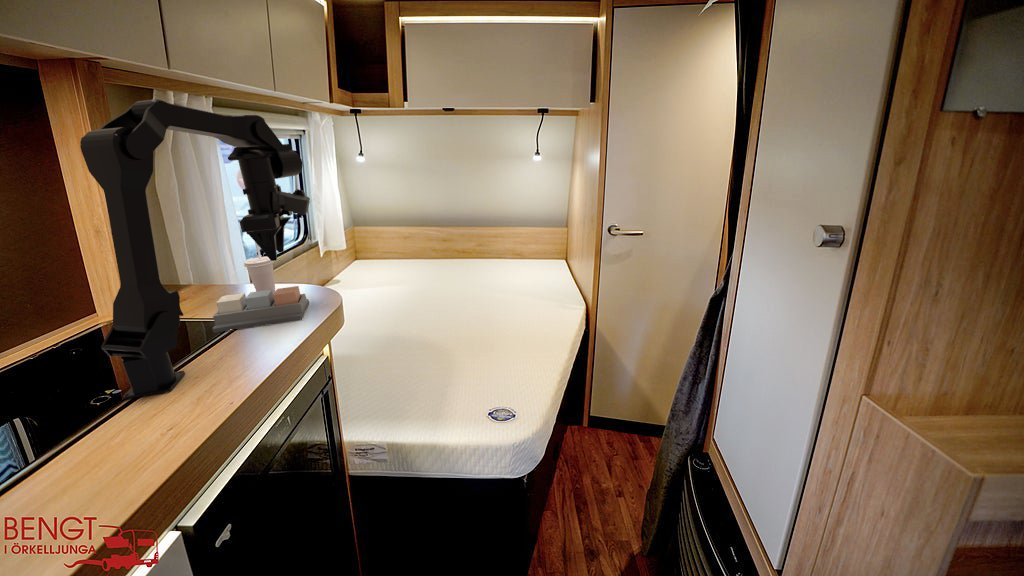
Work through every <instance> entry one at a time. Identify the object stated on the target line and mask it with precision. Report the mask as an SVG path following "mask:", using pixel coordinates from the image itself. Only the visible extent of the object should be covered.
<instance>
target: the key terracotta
mask: <svg viewBox="0 0 1024 576" xmlns="http://www.w3.org/2000/svg"><path fill="white" fill-rule="evenodd" d="M300 294H301V291H300V286H299V285H297V286H296V285H295V286H290V287H289V286H288V287H282V288H276V289H275V293H274V294H273V297H274V301H275V305H276V306H278V305H285V304H292V303H298V301H299V299H300V297H301V295H300Z"/></svg>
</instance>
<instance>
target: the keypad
mask: <svg viewBox="0 0 1024 576" xmlns="http://www.w3.org/2000/svg"><path fill="white" fill-rule="evenodd" d="M300 295H301V297H300V299H299V301H298V303H292V304H285V305H278V306H276V305H275V301H274V302H273V303H272V305H271V306H270V307H264V308H257V309H250V310H248V308H247V305H246V307H245V308H244V309H243V310H242V311H236V312H229V313H222V314H219V311H218V310H217V311H216V312H215V313H214V315H212V318H213V321H214V326H213V327H212V332H213V334H217V333H224V332H223V331H225V332H228V331H227V330H230V329H238V330H243V329H251V328H257V327H264V326H270V325H277V324H283V323H284V324H285V323H291V321H292V322H297V321H303V319H304V316H305V314H306V312H307V309H308V307H309V305H310V301H309V299H308V298H307V295H306V293H302V294H301V293H300Z"/></svg>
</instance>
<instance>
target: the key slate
mask: <svg viewBox="0 0 1024 576" xmlns="http://www.w3.org/2000/svg"><path fill="white" fill-rule="evenodd" d="M245 301H246V305H247V308H248V310H250V309H257V308H264V307H270V306H271V305H272V303H273V302H274V297H273V292H272V290H265V291H257V292H256V291H252V292H251V291H250V292H249V293H248V295H246V298H245Z"/></svg>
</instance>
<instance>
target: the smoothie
mask: <svg viewBox="0 0 1024 576" xmlns="http://www.w3.org/2000/svg"><path fill="white" fill-rule="evenodd" d="M254 243H255V248H256V252H257V256H258V257H253V258H249V259H247V260H245V261H243V264H244V265H243V266H244V267H245V268H246V270H247V273H248V275H249V277H250V279H251V282H252V285H253V286H254V289H255V292H257V291H265V290H272V292H273V294H274V293H275V291H276V283H275V274H274V262H275V261H271V260H270V259H269V258H268V256H262V255H261V251H260V247H259V246H258V244H257V243H256V242H255V241H254Z"/></svg>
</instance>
